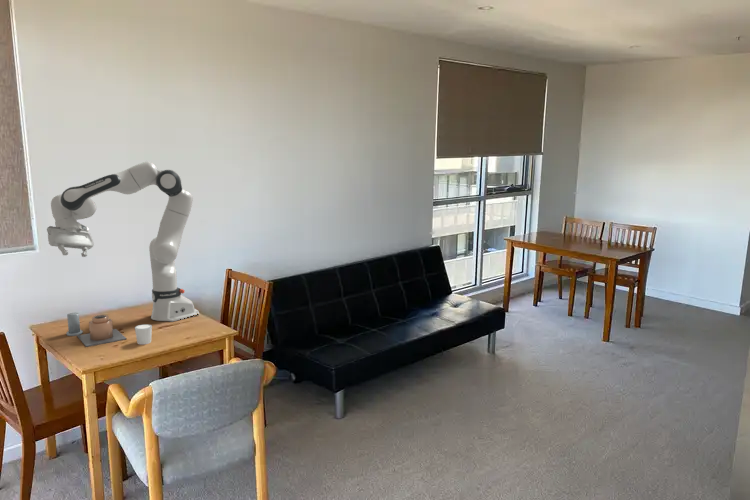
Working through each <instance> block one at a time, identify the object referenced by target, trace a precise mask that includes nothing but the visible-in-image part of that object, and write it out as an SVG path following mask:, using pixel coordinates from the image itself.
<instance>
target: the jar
mask: <svg viewBox="0 0 750 500" xmlns="http://www.w3.org/2000/svg"><path fill="white" fill-rule="evenodd" d="M88 327H89V333H82V334H80V335H77V336H76V337H77V338H78V339H79V341H80V342H82V344H83V345H84V346H85V348H88V347H93V346H98V345H104V344H109V343H115V342H119V341H121V342H122V341H126V340H127V337H126V336H125V335H123V333H121V332H120V331H119V330H118V329H117V328H113V319H111V318H109V315H107V314H98V315H93V316H92V317H91V320H89V322H88Z"/></svg>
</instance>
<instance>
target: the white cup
mask: <svg viewBox="0 0 750 500" xmlns="http://www.w3.org/2000/svg"><path fill="white" fill-rule="evenodd" d="M152 329H153V325H152V324H139V325H136V326H135V327H134V331H135V337H136V342H137V343H136V344H138V345H141V346H142V345H143V346H144V345H148V344H150V343H151V342H152V337H153V336H152V333H153V332H152Z"/></svg>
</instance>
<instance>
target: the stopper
mask: <svg viewBox="0 0 750 500" xmlns="http://www.w3.org/2000/svg"><path fill="white" fill-rule="evenodd" d="M66 319H67V327H68V330H67V331H66V333H65V334H66V336H68V337H75V336H76V337H77V335H83V334H84V330H83V329H81V324H80V313H79V312H69V313H67V318H66Z"/></svg>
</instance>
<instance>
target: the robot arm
mask: <svg viewBox="0 0 750 500" xmlns="http://www.w3.org/2000/svg"><path fill="white" fill-rule="evenodd" d="M153 185H155V186H157V188H158V189H159V190H160V191H161V192H163V193H164V194H166V195H167V196H168V201H167V204H166V206H165V209H164V212H163V214H162V217H161V220H160V223H159V227H158V231H157V236H156V237H155V238H153V239H152V240H151V241H150V243H149V245H148V248H149V259H150V268H151V277H152V278H151V279H152V290H151V292H152V293H151V299H152V311H151V316H150V319H151V320H153V321H158V322H177V321H180V319H181V320H184V318H185V319H188V318H187V317H189V318H191V317H190V316H193V315H197V313H198V314H199V315H200V312H199V310H198V309H196V308H195V306H194V303H193V301H192V300H191V299H189V298H187V297H186V296H185V295H184V293H185V292H186V291H185V290H184V289H183V288H179V287H178V282H177V281H178V280H177V279H178V278H177V277H178V276H177V270H176V269H177V267H176V262H175V260H176V258H177V257H178V253H179V249H180V245H181V242H182V236H183V233H184V230H185V228H186V224H187V221H188V219H189V216H190V214H191V213H190V212H191V211H192V206H193V202H194V196H193V194H192V193H191V192H190V191H188V190H185V189H184V188H183V187H182V186H183V184H182V178H181V176H180V174H179V173H178V172H177V171H174V170H173V169H164V170H160V169H158V167H157V165H156V164H154V163H153V162H152V161H145V162H141V163H138V164H136V165H133V166H131V167H129V168H127V169H125V170H122V171H120V172H117V173H112V174H108V175H103V176H102V177H99V178H97V179H94V180H92V181H90V182H86V183H85V184H84V183H83V184H82V185H78V186H71V187H68V188H66V189H65V190H64V191H63V192H62V193H61V194H58V195H55V196H54V197H53V198H52V199H51V201H50V209H51V214H52V218H54V220H55V221H54V224H55V225H54V226H53V225H52V226H51V225H50V226H48V227H47V228H46V232H47V239H48V240H47V241H48V244H49V245H50V246H51V247H58V250H59V252H61V254H62V256H67V255H69V251H68V250H67V248H69V249H77V250H78V249H79V250H82V253H80V254H81V257H82V258H87V256H88V253H87V251H88V250H90V249H92V248H94V246H95V245H94V244H95V243H94V239H93V236H92V235H91V233H90V232H89V231H90V228H89V227H88V226H87V225H85V224H82V223H80V222H79V221H78V220H84V219H88V218H91V217H93V215H95V213H96V210H97V205H96V203H95V202H94V201H93V199H91V198H92V197H96V196H98V195H100V194H102V193H105V192H117V193H119V194H122V195H132V194H135V193H138V192H139V191H141V190H144V189H146V188H147V187H149V186H153ZM197 316H198V315H197ZM193 317H194V316H193Z"/></svg>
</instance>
